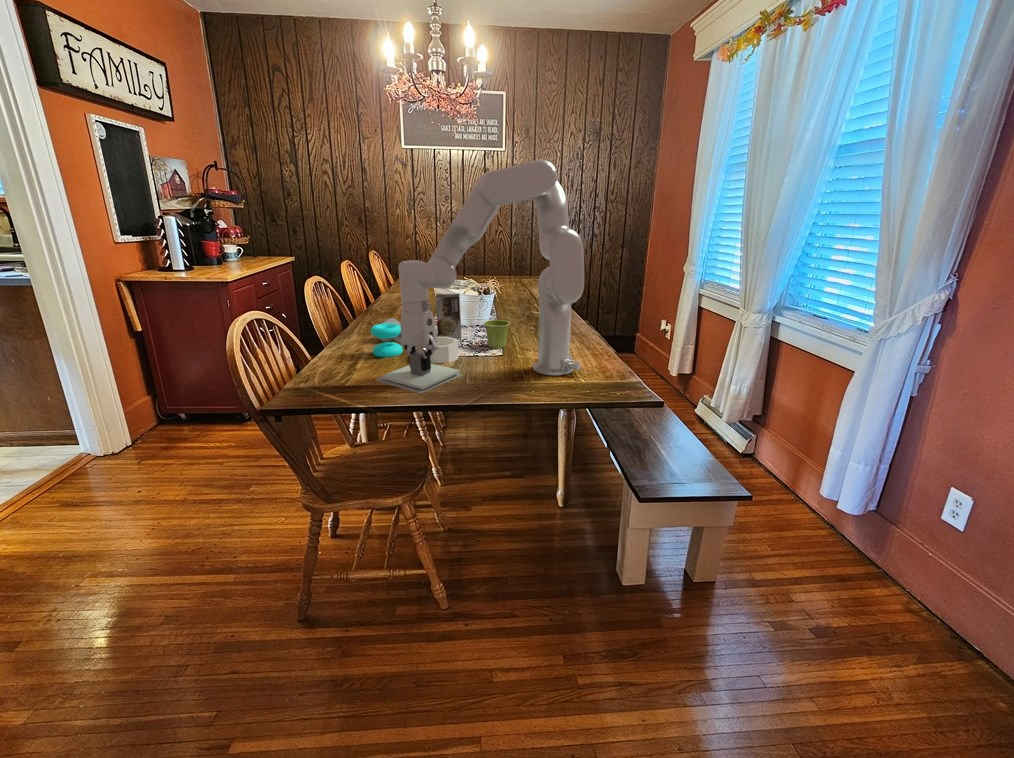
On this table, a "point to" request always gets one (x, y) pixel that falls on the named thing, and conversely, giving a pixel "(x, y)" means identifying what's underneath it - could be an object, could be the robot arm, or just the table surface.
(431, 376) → the lid
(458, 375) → the mat
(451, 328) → the coffee box
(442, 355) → the bowl
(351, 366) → the table surface
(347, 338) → the table surface
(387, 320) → the ceramic mug
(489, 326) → the plant pot
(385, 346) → the donuts
